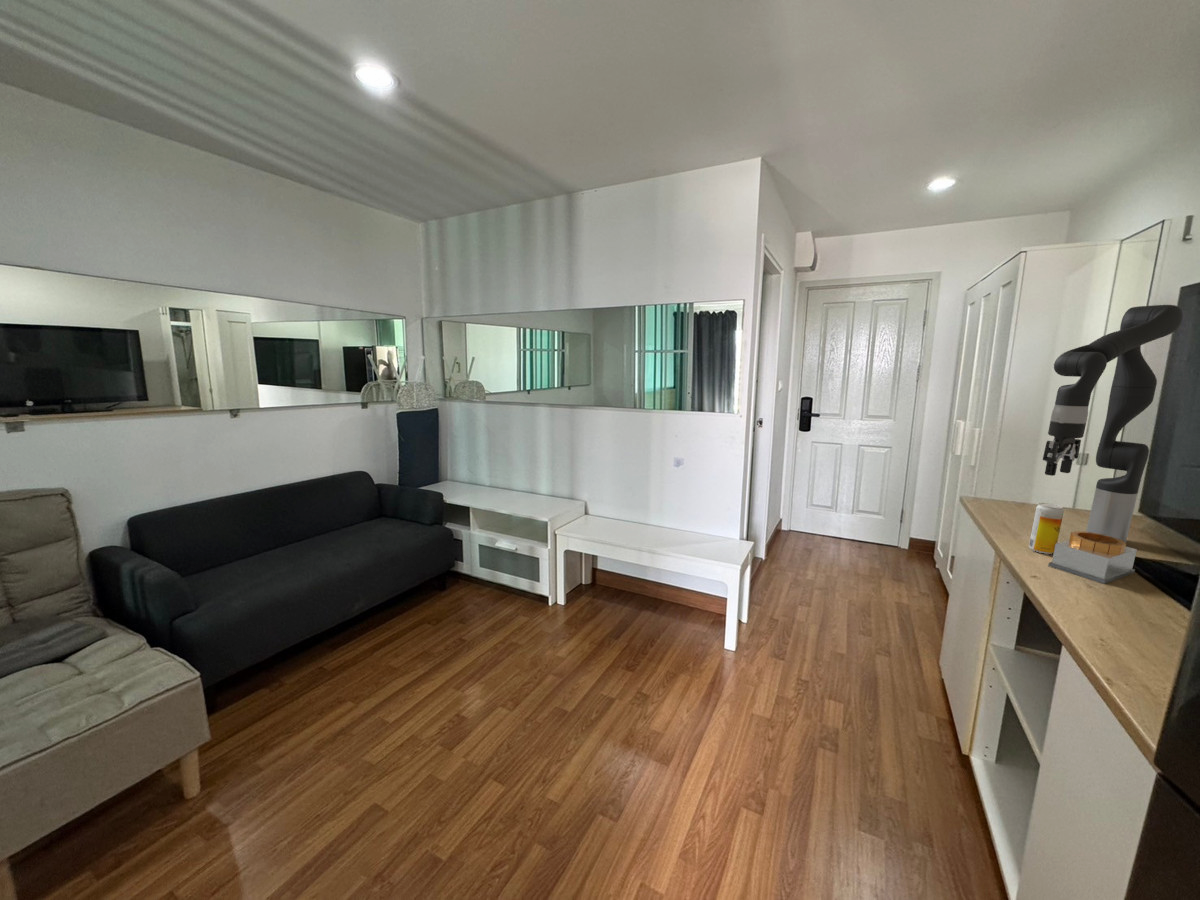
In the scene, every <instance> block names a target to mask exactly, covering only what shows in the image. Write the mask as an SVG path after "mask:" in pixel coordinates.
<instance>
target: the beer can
mask: <svg viewBox="0 0 1200 900" xmlns="http://www.w3.org/2000/svg"><path fill="white" fill-rule="evenodd" d="M1063 517H1064V508H1063V506H1062V505H1058V504H1054V503H1048V502H1039V504H1038V505H1037V506H1036V508H1035V512H1034V519H1033V524H1032V528H1031V534H1030V538H1029V543H1028V548H1029V549H1030V551H1032V550H1033V551H1032V552H1034V551H1036V552H1035V553H1037V552H1039V553H1038V554H1040V553H1044V554H1043V555H1046V554H1051V555H1053V554H1054V550H1055V545H1056V543H1059V542H1058V541H1059V536H1060V531H1061V527H1062V522H1063ZM1052 553H1053V554H1052Z"/></svg>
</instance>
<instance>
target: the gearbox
mask: <svg viewBox="0 0 1200 900" xmlns="http://www.w3.org/2000/svg"><path fill="white" fill-rule="evenodd" d="M1137 551H1138V550H1137V548H1133V547H1130V546H1129V547H1128V546H1127V542H1126V543H1125V542H1124V541H1122V540H1120V539H1117V538H1114V537H1111V536H1107V535H1103V534H1098V533H1092V532H1086V531H1080V530H1077V531H1076V530H1075V531H1072V532H1070V535H1069V539H1067V540H1064V541H1060V542H1057V543H1056V545H1055V550H1054V553H1053V554H1052V555H1053V556H1052V560H1051V562H1048V565H1047V566H1048V567H1050V566H1051V567H1050V568H1053V567H1054V569H1056V568H1057V570H1059V569H1060V571H1062V570H1063V572H1065V573H1068V574H1071V575H1075V576H1078V577H1082V578H1084V579H1087V580H1090V579H1091V581H1094V582H1097V583H1100V584H1104V585H1106V584H1108V583H1110V582H1113V581H1115V580H1119V579H1121V578H1123V577H1126V576H1129V575H1132V574H1135V572H1136V569H1135V568H1133V567H1134V563H1135V558H1136V555H1137Z"/></svg>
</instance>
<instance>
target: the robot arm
mask: <svg viewBox="0 0 1200 900" xmlns="http://www.w3.org/2000/svg"><path fill="white" fill-rule="evenodd" d="M1182 321H1183V311H1182V308H1181V307H1179V306H1177V305H1175V304H1159V305H1158V304H1155V305H1154V304H1153V305H1141V306H1133V307H1130V308H1128V309H1127V310H1126V311H1125V313H1124V315H1123V317H1122V319H1121V321H1120V327H1119V330H1116V331H1114V332H1113V331H1112V332H1111V333H1108V334H1104V335H1103V336H1100V337H1098V338H1097V339H1096V340H1094V341H1092V342H1090V343H1089V344H1086V345H1082V346H1079V347H1075V348H1073V349H1070V350H1069V349H1068V350H1066V351H1064V352H1063V353H1061V354H1060V355H1059V356H1058V357H1057V358H1056V360H1055V361H1054V363H1053V369H1054V372H1055V373H1056V374H1057V375H1059V376H1061V377H1074V378H1075V377H1077V378H1078V377H1080V378H1079V379H1078V380H1077V381H1076V382H1075V383H1072V384H1063V385H1061V386H1059V387H1058V389H1057V392H1056V397H1055V400H1054V406H1053V410H1052V412H1051V416H1050V422H1049V426H1048V431H1047V435H1049V436H1051V437H1054V438H1053V440H1047V441H1046V443H1045V448H1044V451H1043V452H1044V453H1043V456H1042V461H1044V462H1046V465H1045V470H1044V475H1046V476H1050V477H1051V476H1056V475H1057V474H1056V473H1057V469H1058V462H1059V461H1060V459H1062V460H1061V464H1060V467H1059V472H1060V473H1063V474H1069V473H1071V471H1072V466H1073V462H1074V461H1075V460H1077V459H1078V458H1079V454H1080V448H1081V442H1082V438H1083V437H1084V434H1085V430H1086V426H1087V421H1088V416H1089V405H1090V400H1091V397H1092V396H1091V395H1092V393H1093V390H1094V388H1095V387H1096V385H1097V383H1098V381H1099V380H1100V378H1101V376H1102V375H1103V374H1104V373H1105V369H1106V368H1107V364H1108V363H1110V362H1112V361H1113V360H1114V359H1117V360H1116V365H1115V368H1114V369H1115V370H1114V375H1113V378H1112V383H1111V387H1110V393H1109V399H1108V405H1107V410H1106V417H1105V422H1104V425H1103V428H1102V433H1101V436H1100V439H1099V443H1098V447H1097V450H1096V455H1095V464H1096V465H1097V466H1098V467H1099V468H1102V469H1109V470H1110V469H1111V470H1119V471H1125V472H1126V473H1125V474H1124V475H1121V476H1117V477H1107V478H1100V479H1098V480H1097V482H1096V486H1095V490H1094V495H1093V499H1092V504H1091V509H1090V513H1089V517H1088V522H1087V526H1086V531H1085V532H1092V533H1098V534H1103V535H1107V536H1111V537H1114V538H1117V539H1120V540H1122V541H1124V542H1125V543H1126V544H1127V539H1128V536H1129V531H1130V526H1131V522H1132V519H1133V515H1134V510H1135V506H1136V502H1137V497H1138V493H1139V489H1140V485H1141V481H1142V478H1143V474H1144V471H1145V467H1146V465H1147V461H1148V458H1149V454H1150V450H1149V447H1148V445H1147V444H1145V443H1139V442H1128V441H1119V440H1117V437H1118V435H1119V433H1121V431H1122V429H1123V428H1125V426H1126V425H1128V424H1129V423H1130V421H1132V420H1133V419H1135V418H1136V417H1137V416H1138V415H1140V414H1141V413H1142V412H1144V411H1145V410H1146V409H1147V408H1148V407H1149V406H1150V405H1152V403H1153V401H1154V397H1155V393H1156V388H1157V384H1158V380H1157V377H1156V375H1155V373H1154V371H1153V369H1152V368H1151V367H1150V365H1149V363H1148V362H1147V361H1146V360H1145V358H1144V356H1143V353H1142V351H1141V346H1142V345H1145V344H1147V343H1151V342H1152V341H1156V340H1158V339H1161V338H1164V337H1167V336H1169V335H1171V334H1173V333H1174V332H1175V331H1176V330H1178V329H1179V327H1180V325H1181V323H1182Z"/></svg>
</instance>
